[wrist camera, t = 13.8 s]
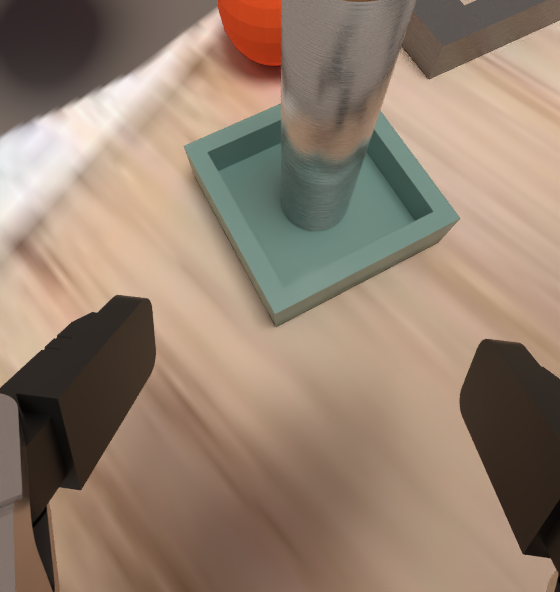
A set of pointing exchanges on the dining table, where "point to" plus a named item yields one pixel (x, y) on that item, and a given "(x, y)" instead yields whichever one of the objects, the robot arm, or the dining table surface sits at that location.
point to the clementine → (254, 28)
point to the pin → (332, 98)
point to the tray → (322, 244)
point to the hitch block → (470, 29)
